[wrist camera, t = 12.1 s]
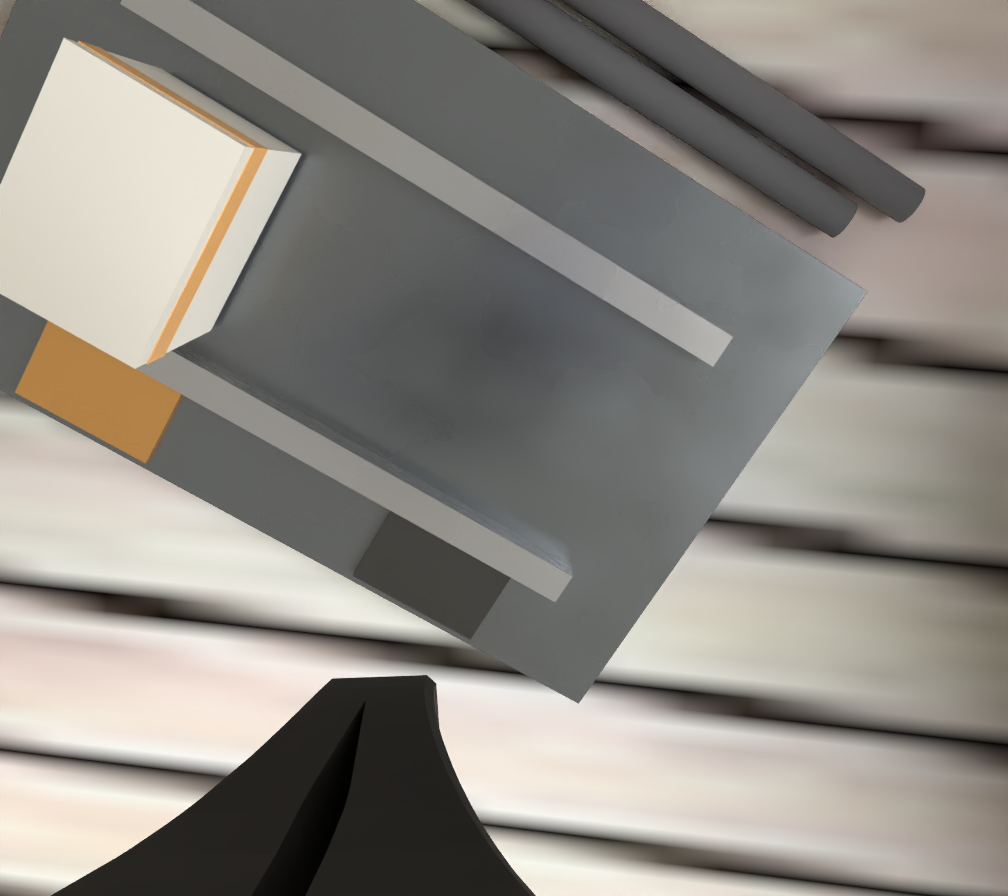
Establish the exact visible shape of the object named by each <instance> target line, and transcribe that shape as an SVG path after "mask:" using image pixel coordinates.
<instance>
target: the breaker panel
mask: <svg viewBox="0 0 1008 896" xmlns="http://www.w3.org/2000/svg"><path fill="white" fill-rule="evenodd" d="M64 38H66V39H69V40H73V41H76V42H78V41H81V42H84V43H87V44H91V45H94V46H97V47H100V48H102V49H103V50H105V51H107V52H111V53H114V54H117V55H120V56H123V57H126V58H130V59H133V60H136V61H139V62H142V63H145V64H149V65H152V66H155V67H158V68H161V69H163V70H164V71H166V72H168V73H169V74H171V75H173V76H174V77H176V78H178V79H179V80H181V81H183V82H184V83H186V84H187V85H189V86H191V87H192V88H194V89H196V90H197V91H199V92H201V93H202V94H204V95H206V96H207V97H209V98H211V99H212V100H214V101H216V102H217V103H219V104H220V105H222V106H224V107H225V108H227V109H229V110H230V111H232V112H234V113H235V114H237V115H239V116H240V117H242V118H244V119H245V120H247V121H249V122H250V123H252V124H253V125H255V126H257V127H258V128H260V129H262V130H263V131H265V132H267V133H268V134H270V135H272V136H273V137H275V138H277V139H278V140H280V141H282V142H283V143H285V144H286V145H288V146H290V147H291V148H293V149H295V150H296V151H298V152H300V153H301V156H300V158H299V160H298V162H297V164H296V166H295V168H294V170H293V172H292V174H291V176H290V178H289V180H288V181H287V183H286V185H285V187H284V189H283V191H282V193H281V195H280V197H279V199H278V201H277V203H276V205H275V207H274V209H273V211H272V213H271V215H270V216H269V218H268V220H267V222H266V224H265V226H264V228H263V230H262V232H261V234H260V236H259V238H258V240H257V242H256V244H255V246H254V248H253V250H252V251H251V253H250V255H249V257H248V259H247V261H246V263H245V265H244V267H243V269H242V271H241V273H240V275H239V277H238V279H237V281H236V283H235V285H234V286H233V288H232V290H231V292H230V294H229V296H228V298H227V300H226V302H225V304H224V306H223V308H222V310H221V312H220V314H219V316H218V318H217V320H216V321H215V323H214V325H213V327H212V329H211V331H209V332H207V333H205V334H203V335H201V336H199V337H197V338H195V339H193V340H191V341H189V342H187V343H185V344H183V345H181V346H179V347H177V348H175V349H173V350H171V351H169V352H167V353H165V355H164V356H163V357H161V358H159V359H157V360H155V361H153V362H151V363H149V364H144V365H142V366H140V367H138V368H136V369H134V368H133V367H131V366H129V365H127V364H125V363H124V362H122V361H120V360H118V359H116V358H115V357H113V356H111V355H109V354H108V353H106V352H104V351H102V350H100V349H99V348H97V347H95V346H93V345H91V344H90V343H88V342H86V341H84V340H82V339H81V338H79V337H77V336H75V335H73V334H72V333H70V332H68V331H66V330H64V329H63V328H61V327H59V326H57V325H55V324H54V323H52V322H50V321H48V320H46V319H45V318H43V317H41V316H39V315H37V314H36V313H34V312H32V311H30V310H29V309H27V308H25V307H23V306H21V305H20V304H18V303H16V302H14V301H12V300H11V299H9V298H7V297H5V296H3V295H2V294H0V390H1V391H3V392H5V393H7V394H9V395H11V396H12V397H14V398H16V399H18V400H20V401H22V402H24V403H25V404H27V405H29V406H31V407H33V408H35V409H36V410H38V411H40V412H42V413H44V414H46V415H48V416H49V417H51V418H53V419H55V420H57V421H59V422H60V423H62V424H64V425H66V426H68V427H70V428H71V429H73V430H75V431H77V432H79V433H81V434H83V435H84V436H86V437H88V438H90V439H92V440H94V441H95V442H97V443H99V444H101V445H103V446H105V447H107V448H108V449H110V450H112V451H114V452H116V453H118V454H119V455H121V456H123V457H125V458H127V459H129V460H130V461H132V462H134V463H136V464H138V465H140V466H142V467H143V468H145V469H147V470H149V471H151V472H153V473H154V474H156V475H158V476H160V477H162V478H164V479H166V480H167V481H169V482H171V483H173V484H175V485H177V486H178V487H180V488H182V489H184V490H186V491H188V492H189V493H191V494H193V495H195V496H197V497H199V498H201V499H202V500H204V501H206V502H208V503H210V504H212V505H213V506H215V507H217V508H219V509H221V510H223V511H225V512H226V513H228V514H230V515H232V516H234V517H236V518H237V519H239V520H241V521H243V522H245V523H247V524H248V525H250V526H252V527H254V528H256V529H258V530H260V531H261V532H263V533H265V534H267V535H269V536H271V537H272V538H274V539H276V540H278V541H280V542H282V543H284V544H285V545H287V546H289V547H291V548H293V549H295V550H296V551H298V552H300V553H302V554H304V555H306V556H307V557H309V558H311V559H313V560H315V561H317V562H319V563H320V564H322V565H324V566H326V567H328V568H330V569H331V570H333V571H335V572H337V573H339V574H341V575H343V576H344V577H346V578H348V579H350V580H352V581H354V582H355V583H357V584H359V585H361V586H363V587H365V588H367V589H368V590H370V591H372V592H374V593H376V594H378V595H379V596H381V597H383V598H385V599H387V600H389V601H390V602H392V603H394V604H396V605H398V606H400V607H402V608H403V609H405V610H407V611H409V612H411V613H413V614H414V615H416V616H418V617H420V618H422V619H424V620H426V621H427V622H429V623H431V624H433V625H435V626H437V627H438V628H440V629H442V630H444V631H446V632H448V633H449V634H451V635H453V636H455V637H457V638H459V639H461V640H462V641H464V642H466V643H468V644H470V645H472V646H473V647H475V648H477V649H479V650H481V651H483V652H485V653H486V654H488V655H490V656H492V657H494V658H496V659H497V660H499V661H501V662H503V663H505V664H507V665H508V666H510V667H512V668H514V669H516V670H518V671H520V672H521V673H523V674H525V675H527V676H529V677H531V678H532V679H534V680H536V681H538V682H540V683H542V684H544V685H545V686H547V687H549V688H551V689H553V690H555V691H556V692H558V693H560V694H562V695H564V696H566V697H567V698H569V699H571V700H573V701H575V702H577V703H579V702H580V701H581V699H582V698H583V697H584V695H585V694H586V692H587V691H588V690H589V688H590V687H591V685H592V684H593V682H594V681H595V680H596V678H597V677H598V675H599V674H600V672H601V671H602V670H603V668H604V667H605V665H606V664H607V662H608V661H609V660H610V658H611V657H612V655H613V654H614V652H615V651H616V650H617V648H618V647H619V645H620V644H621V642H622V641H623V640H624V638H625V637H626V635H627V634H628V632H629V631H630V630H631V628H632V627H633V625H634V624H635V622H636V621H637V620H638V618H639V617H640V615H641V614H642V612H643V611H644V610H645V608H646V607H647V605H648V604H649V602H650V601H651V600H652V598H653V597H654V595H655V594H656V592H657V591H658V590H659V588H660V587H661V585H662V584H663V583H664V581H665V580H666V578H667V577H668V575H669V574H670V573H671V571H672V570H673V568H674V567H675V565H676V564H677V563H678V561H679V560H680V558H681V557H682V555H683V554H684V553H685V551H686V550H687V548H688V547H689V545H690V544H691V543H692V541H693V540H694V538H695V537H696V535H697V534H698V533H699V531H700V530H701V528H702V527H703V525H704V524H705V523H706V521H707V520H708V518H709V517H710V515H711V514H712V513H713V511H714V510H715V508H716V507H717V505H718V504H719V503H720V501H721V500H722V498H723V497H724V495H725V494H726V493H727V491H728V490H729V488H730V487H731V486H732V484H733V483H734V481H735V480H736V478H737V477H738V476H739V474H740V473H741V471H742V470H743V468H744V467H745V466H746V464H747V463H748V461H749V460H750V458H751V457H752V456H753V454H754V453H755V451H756V450H757V448H758V447H759V446H760V444H761V443H762V441H763V440H764V438H765V437H766V436H767V434H768V433H769V431H770V430H771V428H772V427H773V426H774V424H775V423H776V421H777V420H778V418H779V417H780V416H781V414H782V413H783V411H784V410H785V408H786V407H787V406H788V404H789V403H790V401H791V400H792V398H793V397H794V396H795V394H796V393H797V391H798V390H799V389H800V387H801V386H802V384H803V383H804V381H805V380H806V379H807V377H808V376H809V374H810V373H811V371H812V370H813V369H814V367H815V366H816V364H817V363H818V361H819V360H820V359H821V357H822V356H823V354H824V353H825V351H826V350H827V349H828V347H829V346H830V344H831V343H832V341H833V340H834V339H835V337H836V336H837V334H838V333H839V331H840V330H841V329H842V327H843V326H844V324H845V323H846V321H847V320H848V319H849V317H850V316H851V314H852V313H853V311H854V310H855V309H856V307H857V306H858V304H859V303H860V301H861V300H862V299H863V297H864V296H865V294H866V293H867V291H866V290H864V289H863V288H861V287H860V286H858V285H856V284H855V283H853V282H852V281H850V280H849V279H847V278H845V277H844V276H842V275H841V274H839V273H838V272H836V271H835V270H833V269H831V268H830V267H828V266H827V265H825V264H824V263H822V262H821V261H819V260H817V259H816V258H814V257H813V256H811V255H810V254H808V253H807V252H805V251H803V250H802V249H800V248H799V247H797V246H796V245H794V244H793V243H791V242H789V241H788V240H786V239H785V238H783V237H782V236H780V235H779V234H777V233H775V232H774V231H772V230H771V229H769V228H768V227H766V226H764V225H763V224H761V223H760V222H758V221H757V220H755V219H754V218H752V217H750V216H749V215H747V214H746V213H744V212H743V211H741V210H740V209H738V208H736V207H735V206H733V205H732V204H730V203H729V202H727V201H726V200H724V199H722V198H721V197H719V196H718V195H716V194H715V193H713V192H712V191H710V190H708V189H707V188H705V187H704V186H702V185H701V184H699V183H698V182H696V181H694V180H693V179H691V178H690V177H688V176H687V175H685V174H684V173H682V172H680V171H679V170H677V169H676V168H674V167H673V166H671V165H669V164H668V163H666V162H665V161H663V160H662V159H660V158H659V157H657V156H655V155H654V154H652V153H651V152H649V151H648V150H646V149H645V148H643V147H641V146H640V145H638V144H637V143H635V142H634V141H632V140H631V139H629V138H627V137H626V136H624V135H623V134H621V133H620V132H618V131H617V130H615V129H613V128H612V127H610V126H609V125H607V124H606V123H604V122H603V121H601V120H599V119H598V118H596V117H595V116H593V115H592V114H590V113H588V112H587V111H585V110H584V109H582V108H581V107H579V106H578V105H576V104H574V103H573V102H571V101H570V100H568V99H567V98H565V97H564V96H562V95H560V94H559V93H557V92H556V91H554V90H553V89H551V88H550V87H548V86H546V85H545V84H543V83H542V82H540V81H539V80H537V79H536V78H534V77H532V76H531V75H529V74H528V73H526V72H525V71H523V70H522V69H520V68H518V67H517V66H515V65H514V64H512V63H511V62H509V61H507V60H506V59H504V58H503V57H501V56H500V55H498V54H497V53H495V52H493V51H492V50H490V49H489V48H487V47H486V46H484V45H483V44H481V43H479V42H478V41H476V40H475V39H473V38H472V37H470V36H469V35H467V34H465V33H464V32H462V31H461V30H459V29H458V28H456V27H455V26H453V25H451V24H450V23H448V22H447V21H445V20H444V19H442V18H441V17H439V16H437V15H436V14H434V13H433V12H431V11H430V10H428V9H426V8H425V7H423V6H422V5H420V4H419V3H417V2H416V1H414V0H16V2H15V5H14V7H13V10H12V12H11V14H10V17H9V19H8V22H7V24H6V26H5V29H4V31H3V34H2V36H1V38H0V184H1V182H2V180H3V177H4V175H5V173H6V170H7V168H8V166H9V163H10V161H11V159H12V156H13V154H14V152H15V150H16V147H17V145H18V143H19V140H20V138H21V136H22V133H23V131H24V129H25V126H26V124H27V122H28V120H29V117H30V115H31V113H32V110H33V108H34V106H35V103H36V101H37V99H38V96H39V94H40V92H41V89H42V87H43V85H44V83H45V80H46V78H47V76H48V73H49V71H50V69H51V66H52V64H53V62H54V59H55V57H56V55H57V53H58V50H59V48H60V46H61V43H62V41H63V39H64Z"/></svg>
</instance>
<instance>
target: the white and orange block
mask: <svg viewBox="0 0 1008 896" xmlns="http://www.w3.org/2000/svg"><path fill="white" fill-rule="evenodd" d="M300 156H301V153H300V152H298V151H296V150H295V149H293V148H291V147H290V146H288V145H286V144H285V143H283V142H282V141H280V140H278V139H277V138H275V137H273V136H272V135H270V134H268V133H267V132H265V131H263V130H262V129H260V128H258V127H257V126H255V125H253V124H252V123H250V122H249V121H247V120H245V119H244V118H242V117H240V116H239V115H237V114H235V113H234V112H232V111H230V110H229V109H227V108H225V107H224V106H222V105H220V104H219V103H217V102H216V101H214V100H212V99H211V98H209V97H207V96H206V95H204V94H202V93H201V92H199V91H197V90H196V89H194V88H192V87H191V86H189V85H187V84H186V83H184V82H183V81H181V80H179V79H178V78H176V77H174V76H173V75H171V74H169V73H168V72H166V71H164V70H163V69H161V68H158V67H155V66H152V65H149V64H145V63H142V62H139V61H136V60H133V59H130V58H126V57H123V56H120V55H117V54H114V53H111V52H107V51H105V50H103V49H102V48H100V47H97V46H94V45H91V44H87V43H84V42H81V41H78V42H76V41H73V40H69V39H66V38H64V39H63V41H62V43H61V46H60V48H59V50H58V53H57V55H56V57H55V59H54V62H53V64H52V66H51V69H50V71H49V73H48V76H47V78H46V80H45V83H44V85H43V87H42V89H41V92H40V94H39V96H38V99H37V101H36V103H35V106H34V108H33V110H32V113H31V115H30V117H29V120H28V122H27V124H26V126H25V129H24V131H23V133H22V136H21V138H20V140H19V143H18V145H17V147H16V150H15V152H14V154H13V156H12V159H11V161H10V163H9V166H8V168H7V170H6V173H5V175H4V177H3V180H2V182H1V184H0V294H2V295H3V296H5V297H7V298H9V299H11V300H12V301H14V302H16V303H18V304H20V305H21V306H23V307H25V308H27V309H29V310H30V311H32V312H34V313H36V314H37V315H39V316H41V317H43V318H45V319H46V320H48V321H50V322H52V323H54V324H55V325H57V326H59V327H61V328H63V329H64V330H66V331H68V332H70V333H72V334H73V335H75V336H77V337H79V338H81V339H82V340H84V341H86V342H88V343H90V344H91V345H93V346H95V347H97V348H99V349H100V350H102V351H104V352H106V353H108V354H109V355H111V356H113V357H115V358H116V359H118V360H120V361H122V362H124V363H125V364H127V365H129V366H131V367H133V368H134V369H136V368H138V367H140V366H142V365H144V364H149V363H151V362H153V361H155V360H157V359H159V358H161V357H163V356H164V355H165V353H167V352H169V351H171V350H173V349H175V348H177V347H179V346H181V345H183V344H185V343H187V342H189V341H191V340H193V339H195V338H197V337H199V336H201V335H203V334H205V333H207V332H209V331H211V329H212V327H213V325H214V323H215V321H216V320H217V318H218V316H219V314H220V312H221V310H222V308H223V306H224V304H225V302H226V300H227V298H228V296H229V294H230V292H231V290H232V288H233V286H234V285H235V283H236V281H237V279H238V277H239V275H240V273H241V271H242V269H243V267H244V265H245V263H246V261H247V259H248V257H249V255H250V253H251V251H252V250H253V248H254V246H255V244H256V242H257V240H258V238H259V236H260V234H261V232H262V230H263V228H264V226H265V224H266V222H267V220H268V218H269V216H270V215H271V213H272V211H273V209H274V207H275V205H276V203H277V201H278V199H279V197H280V195H281V193H282V191H283V189H284V187H285V185H286V183H287V181H288V180H289V178H290V176H291V174H292V172H293V170H294V168H295V166H296V164H297V162H298V160H299V158H300Z"/></svg>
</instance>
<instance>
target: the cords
mask: <svg viewBox="0 0 1008 896" xmlns="http://www.w3.org/2000/svg"><path fill="white" fill-rule="evenodd" d="M466 1H468V2H469V3H471V4H472V5H474V6H475V7H477V8H478V9H480V10H482V11H483V12H485V13H486V14H488V15H489V16H491V17H492V18H494V19H495V20H497V21H499V22H500V23H502V24H503V25H505V26H506V27H508V28H509V29H511V30H512V31H514V32H516V33H517V34H519V35H520V36H522V37H523V38H525V39H526V40H528V41H529V42H531V43H533V44H534V45H536V46H537V47H539V48H540V49H542V50H543V51H545V52H546V53H548V54H550V55H551V56H553V57H554V58H556V59H557V60H559V61H560V62H562V63H563V64H565V65H566V66H568V67H570V68H571V69H573V70H574V71H576V72H577V73H579V74H580V75H582V76H583V77H585V78H587V79H588V80H590V81H591V82H593V83H594V84H596V85H597V86H599V87H600V88H602V89H604V90H605V91H607V92H608V93H610V94H611V95H613V96H614V97H616V98H617V99H619V100H621V101H622V102H624V103H625V104H627V105H628V106H630V107H631V108H633V109H634V110H636V111H638V112H639V113H641V114H642V115H644V116H645V117H647V118H648V119H650V120H651V121H653V122H655V123H656V124H658V125H659V126H661V127H662V128H664V129H665V130H667V131H668V132H670V133H672V134H673V135H675V136H676V137H678V138H679V139H681V140H682V141H684V142H685V143H687V144H689V145H690V146H692V147H693V148H695V149H696V150H698V151H699V152H701V153H702V154H704V155H705V156H707V157H709V158H710V159H712V160H713V161H715V162H716V163H718V164H719V165H721V166H722V167H724V168H726V169H727V170H729V171H730V172H732V173H733V174H735V175H736V176H738V177H739V178H741V179H743V180H744V181H746V182H747V183H749V184H750V185H752V186H753V187H755V188H756V189H758V190H760V191H761V192H763V193H764V194H766V195H767V196H769V197H770V198H772V199H773V200H775V201H777V202H778V203H780V204H781V205H783V206H784V207H786V208H787V209H789V210H790V211H792V212H794V213H795V214H797V215H798V216H800V217H801V218H803V219H804V220H806V221H807V222H809V223H811V224H812V225H814V226H815V227H817V228H818V229H820V230H821V231H823V232H824V233H826V234H828V235H829V236H831V237H836V236H837V235H839V234H840V233H841V232H842V231H843V230H844V229H845V228H846V226H847V225H848V224H849V222H850V221H851V220H852V218H853V216H854V214H855V212H856V210H857V204H856V203H855V202H853V201H852V200H850V199H849V198H847V197H846V196H844V195H842V194H841V193H839V192H838V191H836V190H835V189H833V188H832V187H830V186H829V185H827V184H826V183H824V182H823V181H821V180H820V179H818V178H817V177H815V176H814V175H812V174H810V173H809V172H807V171H806V170H804V169H803V168H801V167H800V166H798V165H797V164H795V163H794V162H792V161H791V160H789V159H788V158H786V157H785V156H783V155H782V154H780V153H778V152H777V151H775V150H774V149H772V148H771V147H769V146H768V145H766V144H765V143H763V142H762V141H760V140H759V139H757V138H756V137H754V136H753V135H751V134H749V133H748V132H746V131H745V130H743V129H742V128H740V127H739V126H737V125H736V124H734V123H733V122H731V121H730V120H728V119H727V118H725V117H724V116H722V115H721V114H719V113H717V112H716V111H714V110H713V109H711V108H710V107H708V106H707V105H705V104H704V103H702V102H701V101H699V100H698V99H696V98H695V97H693V96H692V95H690V94H689V93H687V92H685V91H684V90H682V89H681V88H679V87H678V86H676V85H675V84H673V83H672V82H670V81H669V80H667V79H666V78H664V77H663V76H661V75H660V74H658V73H657V72H655V71H653V70H652V69H650V68H649V67H647V66H646V65H644V64H643V63H641V62H640V61H638V60H637V59H635V58H634V57H632V56H631V55H629V54H628V53H626V52H625V51H623V50H621V49H620V48H618V47H617V46H615V45H614V44H612V43H611V42H609V41H608V40H606V39H605V38H603V37H602V36H600V35H599V34H597V33H596V32H594V31H593V30H591V29H589V28H588V27H586V26H585V25H583V24H582V23H580V22H579V21H577V20H576V19H574V18H573V17H571V16H570V15H568V14H567V13H565V12H564V11H562V10H561V9H559V8H557V7H556V6H554V5H553V4H551V3H550V2H548V1H547V0H466ZM561 1H562V2H564V3H565V4H567V5H568V6H570V7H571V8H573V9H574V10H576V11H578V12H579V13H581V14H582V15H584V16H585V17H587V18H588V19H590V20H591V21H593V22H594V23H596V24H597V25H599V26H600V27H602V28H603V29H605V30H606V31H608V32H609V33H611V34H612V35H614V36H616V37H617V38H619V39H620V40H622V41H623V42H625V43H626V44H628V45H629V46H631V47H632V48H634V49H635V50H637V51H638V52H640V53H641V54H643V55H644V56H646V57H647V58H649V59H650V60H652V61H654V62H655V63H657V64H658V65H660V66H661V67H663V68H664V69H666V70H667V71H669V72H670V73H672V74H673V75H675V76H676V77H678V78H679V79H681V80H682V81H684V82H685V83H687V84H688V85H690V86H692V87H693V88H695V89H696V90H698V91H699V92H701V93H702V94H704V95H705V96H707V97H708V98H710V99H711V100H713V101H714V102H716V103H717V104H719V105H720V106H722V107H723V108H725V109H727V110H728V111H730V112H731V113H733V114H734V115H736V116H737V117H739V118H740V119H742V120H743V121H745V122H746V123H748V124H749V125H751V126H752V127H754V128H755V129H757V130H758V131H760V132H761V133H763V134H765V135H766V136H768V137H769V138H771V139H772V140H774V141H775V142H777V143H778V144H780V145H781V146H783V147H784V148H786V149H787V150H789V151H790V152H792V153H793V154H795V155H796V156H798V157H799V158H801V159H803V160H804V161H806V162H807V163H809V164H810V165H812V166H813V167H815V168H816V169H818V170H819V171H821V172H822V173H824V174H825V175H827V176H828V177H830V178H831V179H833V180H834V181H836V182H838V183H839V184H841V185H842V186H844V187H845V188H847V189H848V190H850V191H851V192H853V193H854V194H856V195H857V196H859V197H860V198H862V199H863V200H865V201H866V202H868V203H869V204H871V205H872V206H874V207H876V208H877V209H879V210H880V211H882V212H883V213H885V214H886V215H888V216H889V217H891V218H892V219H894V220H895V221H897V222H903V221H904V220H906V219H907V218H908V217H910V216H911V215H912V214H913V212H914V211H915V210H916V209H917V208H918V206H919V205H920V203H921V202H922V200H923V198H924V195H925V189H924V188H923V187H921V186H920V185H918V184H917V183H915V182H914V181H912V180H911V179H909V178H908V177H906V176H905V175H903V174H902V173H900V172H899V171H897V170H896V169H894V168H893V167H891V166H890V165H888V164H887V163H885V162H884V161H882V160H881V159H879V158H878V157H876V156H875V155H873V154H872V153H870V152H869V151H867V150H866V149H864V148H863V147H861V146H860V145H858V144H857V143H855V142H854V141H852V140H851V139H849V138H848V137H846V136H845V135H843V134H842V133H840V132H839V131H837V130H836V129H834V128H833V127H831V126H830V125H828V124H827V123H825V122H824V121H822V120H821V119H819V118H818V117H816V116H815V115H813V114H812V113H810V112H809V111H807V110H806V109H804V108H803V107H801V106H800V105H798V104H797V103H795V102H794V101H792V100H791V99H789V98H788V97H786V96H785V95H783V94H782V93H780V92H779V91H777V90H776V89H774V88H773V87H771V86H770V85H768V84H767V83H765V82H764V81H762V80H761V79H759V78H758V77H756V76H755V75H753V74H752V73H750V72H749V71H747V70H746V69H744V68H743V67H741V66H740V65H738V64H737V63H735V62H734V61H732V60H731V59H729V58H728V57H726V56H725V55H723V54H722V53H720V52H719V51H717V50H716V49H714V48H713V47H711V46H710V45H708V44H707V43H705V42H704V41H702V40H701V39H699V38H698V37H696V36H695V35H693V34H692V33H690V32H689V31H687V30H686V29H684V28H683V27H681V26H680V25H678V24H677V23H675V22H674V21H672V20H671V19H669V18H668V17H666V16H665V15H663V14H662V13H660V12H659V11H657V10H656V9H654V8H653V7H651V6H650V5H648V4H647V3H645V2H644V1H642V0H561Z"/></svg>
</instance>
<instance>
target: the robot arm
mask: <svg viewBox="0 0 1008 896" xmlns="http://www.w3.org/2000/svg"><path fill="white" fill-rule="evenodd" d="M51 896H535V894H534V893H533V892H532V891H531V890H530V889H529V888H528V886H527V885H526V884H525V883H524V882H523V881H522V880H521V878H520V877H519V876H518V875H517V874H516V873H515V871H514V870H513V869H512V868H511V866H510V865H509V863H508V862H507V861H506V859H505V858H504V856H503V855H502V854H501V852H500V851H499V850H498V848H497V847H496V845H495V844H494V842H493V841H492V839H491V838H490V836H489V835H488V833H487V831H486V830H485V828H484V827H483V825H482V824H481V822H480V820H479V818H478V817H477V815H476V813H475V811H474V810H473V808H472V806H471V804H470V802H469V800H468V798H467V796H466V794H465V792H464V790H463V788H462V786H461V784H460V782H459V780H458V778H457V776H456V773H455V771H454V769H453V766H452V764H451V761H450V758H449V756H448V753H447V750H446V748H445V745H444V742H443V740H442V736H441V733H440V730H439V719H438V704H437V690H436V683H435V682H434V681H433V680H432V679H431V678H429V677H428V676H427V675H421V676H393V677H365V678H337V679H331V680H330V681H329V682H328V683H327V684H326V685H325V686H324V687H323V688H322V689H321V690H320V691H319V692H318V693H317V694H315V695H314V696H313V697H312V698H311V699H310V700H309V701H308V702H307V703H306V704H305V705H304V706H303V707H302V708H301V709H300V710H299V711H298V712H297V713H296V714H295V715H294V716H293V717H292V718H291V719H290V720H289V721H288V722H287V723H286V724H285V725H284V726H283V727H282V728H281V729H280V730H279V731H278V732H276V733H275V734H274V735H273V736H272V737H271V738H270V739H269V740H268V741H267V742H266V743H265V744H264V745H263V746H262V747H261V748H259V749H258V750H257V751H256V752H255V753H254V754H253V755H252V756H251V757H250V758H248V759H247V760H246V761H245V762H244V763H243V764H241V765H240V766H239V767H238V768H237V769H235V770H234V771H233V772H232V773H231V774H229V775H228V776H227V777H226V778H225V779H223V780H222V781H221V782H220V783H219V784H218V785H216V786H215V787H214V788H213V789H212V790H210V791H209V792H208V793H207V794H206V795H204V796H203V797H202V798H201V799H200V800H198V801H197V802H196V803H195V804H193V805H192V806H191V807H189V808H188V809H187V810H185V811H184V812H183V813H181V814H180V815H179V816H177V817H176V818H175V819H173V820H172V821H170V822H169V823H168V824H166V825H165V826H163V827H162V828H160V829H159V830H157V831H156V832H155V833H153V834H152V835H150V836H149V837H147V838H146V839H144V840H143V841H141V842H140V843H138V844H137V845H135V846H134V847H132V848H131V849H129V850H128V851H126V852H125V853H123V854H122V855H120V856H118V857H117V858H115V859H113V860H112V861H110V862H108V863H106V864H105V865H103V866H101V867H99V868H98V869H96V870H94V871H92V872H91V873H89V874H87V875H86V876H84V877H82V878H80V879H79V880H77V881H75V882H73V883H72V884H70V885H68V886H67V887H65V888H63V889H61V890H60V891H58V892H56V893H54V894H53V895H51Z"/></svg>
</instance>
